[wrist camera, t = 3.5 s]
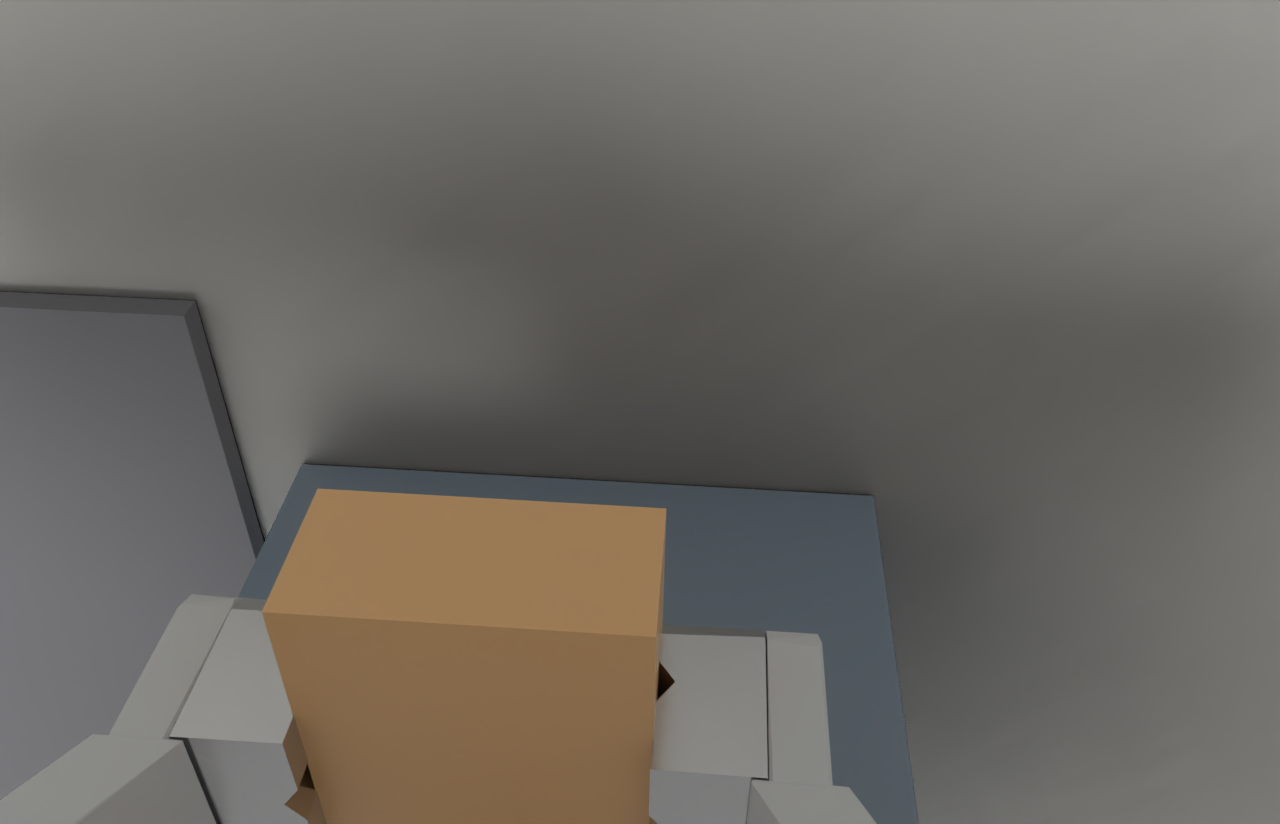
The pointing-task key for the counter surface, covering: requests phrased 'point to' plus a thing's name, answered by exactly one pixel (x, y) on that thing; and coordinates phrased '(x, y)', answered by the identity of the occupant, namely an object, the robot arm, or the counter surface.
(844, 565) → the tub
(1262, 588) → the counter surface
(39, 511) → the mat
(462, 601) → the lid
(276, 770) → the robot arm
